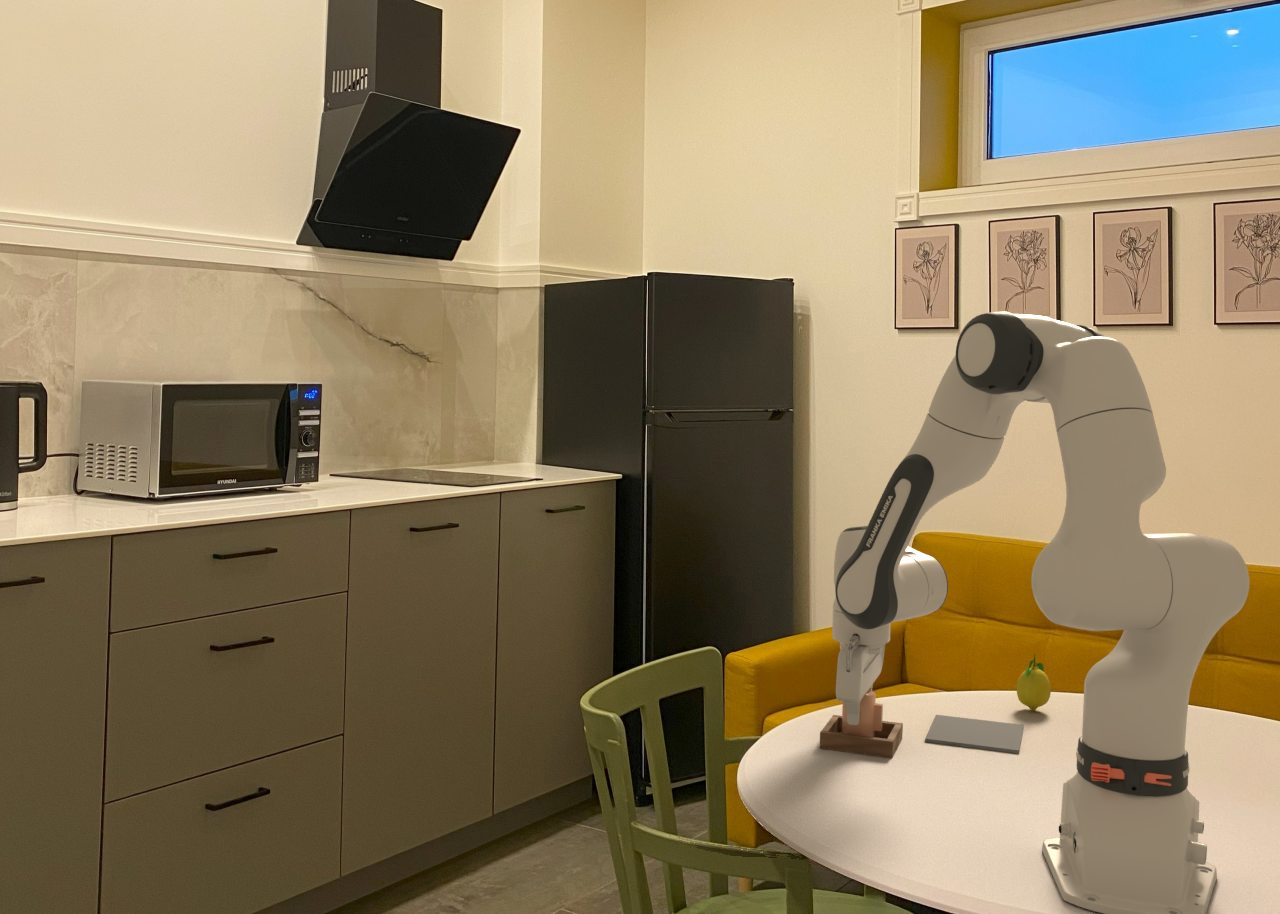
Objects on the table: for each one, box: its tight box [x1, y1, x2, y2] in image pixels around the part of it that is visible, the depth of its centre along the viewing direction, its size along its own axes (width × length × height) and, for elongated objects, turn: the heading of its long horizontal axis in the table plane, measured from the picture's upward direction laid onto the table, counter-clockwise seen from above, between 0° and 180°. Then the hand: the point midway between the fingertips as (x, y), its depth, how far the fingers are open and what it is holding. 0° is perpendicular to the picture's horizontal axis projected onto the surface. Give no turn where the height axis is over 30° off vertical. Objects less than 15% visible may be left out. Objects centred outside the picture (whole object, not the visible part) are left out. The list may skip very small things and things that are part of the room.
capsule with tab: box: [841, 690, 884, 737], centre depth 177 cm, size 5×6×8 cm
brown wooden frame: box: [819, 714, 904, 759], centre depth 177 cm, size 10×11×2 cm
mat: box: [924, 714, 1025, 754], centre depth 182 cm, size 14×14×1 cm
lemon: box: [1016, 653, 1052, 712], centre depth 196 cm, size 7×6×10 cm
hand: (858, 716), depth 177 cm, fingers open, 7 cm apart
